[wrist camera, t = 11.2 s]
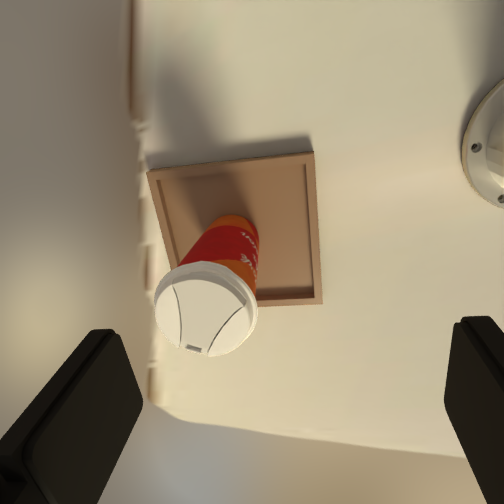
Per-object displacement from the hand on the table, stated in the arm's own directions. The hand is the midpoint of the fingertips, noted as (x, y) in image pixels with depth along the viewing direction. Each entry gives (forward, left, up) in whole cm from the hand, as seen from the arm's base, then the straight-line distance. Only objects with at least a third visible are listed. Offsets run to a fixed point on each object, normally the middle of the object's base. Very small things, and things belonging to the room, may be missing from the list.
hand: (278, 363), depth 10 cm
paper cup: (+7, +7, -26) cm, 28 cm away
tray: (+6, +7, -26) cm, 28 cm away
